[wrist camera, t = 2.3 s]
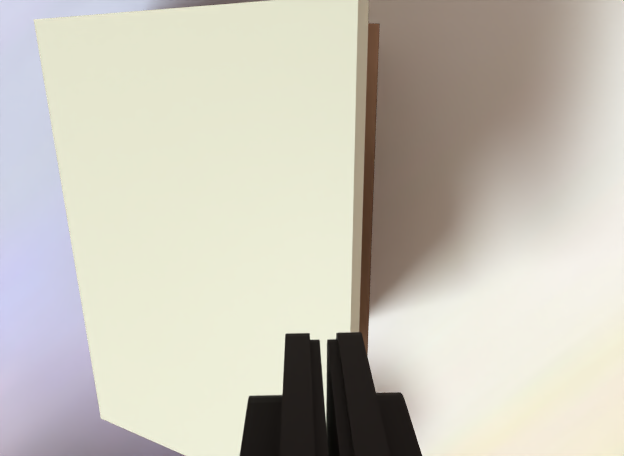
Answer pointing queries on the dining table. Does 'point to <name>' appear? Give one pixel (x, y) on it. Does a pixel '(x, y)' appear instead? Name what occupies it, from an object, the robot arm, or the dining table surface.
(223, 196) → the lid
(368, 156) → the wooden box
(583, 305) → the dining table surface
